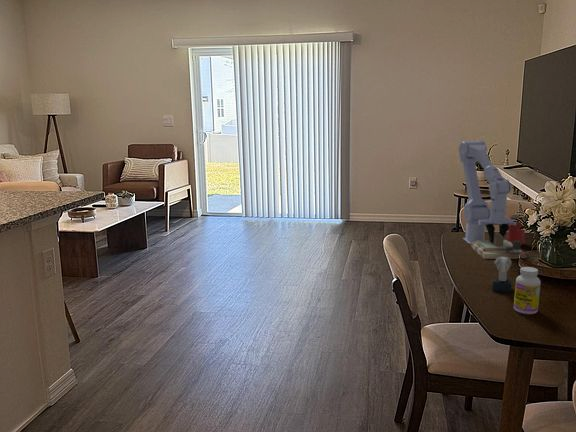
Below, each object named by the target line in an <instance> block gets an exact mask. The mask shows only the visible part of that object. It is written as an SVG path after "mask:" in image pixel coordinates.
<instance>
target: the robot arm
mask: <svg viewBox="0 0 576 432" xmlns="http://www.w3.org/2000/svg"><path fill="white" fill-rule="evenodd" d="M487 147H488V146H487V144H486V142H485V141H484V140H463V141H461V142H460V144H459V147H458V154H459V158H460V162H461V163H462V168H463V175H464V180H465V187H466V192H467V196H468V197H467V198H468V201H467V202H466V203H465V204H464V206H463V208H464V209H463V211H464V212H463V217H464V220H465V221H466V225H465V237H463V238H462V239H463V240H464V241H465V242H466V243H467V244H469V245H471V242H473V241H474V240H485V239H486V238H485V234H486V230H487V233H488V237H489V238H490V242H491V243H493V240H494V232H496V227H495V226H498V228H499V229H498V230H499V231H498V233H499V234H501V235H502V236H503V237H504V238H505V235H507V233H508V229H509V226H508V225H516V222H513V221H515V220H510V218H509V219H506V212H507V203H508V202H507V201H508V200H507V198H508V194H509V193H510V192H511V190H512V186H511V185H512V184H511V182H510V179H508V178H505V177H504V176H503V175H502V173H501V171H500V170H499V169H498V167H497V166H496V165H493V164H492V161H491V160H490V157H489V155H488V153H487V151H488V150H487V149H488V148H487ZM477 162H479V164H480V166H481V167H482V169H484V170H483V176H484V177H485V179H486V181H487V183H488V184H489V186H488V191H489V195H490V196H489V197H490V200H491V201H490V207H489V205H488V202H487V201H486V200H484V199H483V198H482V193H481V188H480V183H479V177H478V171H477V166H476V163H477Z"/></svg>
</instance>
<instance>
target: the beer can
mask: <svg viewBox="0 0 576 432" xmlns="http://www.w3.org/2000/svg"><path fill="white" fill-rule="evenodd" d="M518 217H519V215H517V214H513V215H510V217H509V219H510V220H516V219H517V218H518ZM508 226H509V229H508V231H507V237H506V238H507V239H506V240H508V241H509V242H511V243H512V244H513V241H521V246H522V245H524V243H525V233H526V229H525V230H518V229H519V228H520V227H521V226H522V224H521V223H519V222H516V225H508Z"/></svg>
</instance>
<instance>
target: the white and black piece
mask: <svg viewBox="0 0 576 432" xmlns="http://www.w3.org/2000/svg"><path fill="white" fill-rule="evenodd" d="M493 264H494V265H495V266H496V268H497V270H498V276H497V277H493V279H492V280H493V281H492V290H491V291H492V292H499V293H509V294H511V293H512V279H510V278H508V271H509V270H510V268H511V266H512V260H511V259H509V258H507V257H499V258H497V259H495V260H494V261H493Z"/></svg>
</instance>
